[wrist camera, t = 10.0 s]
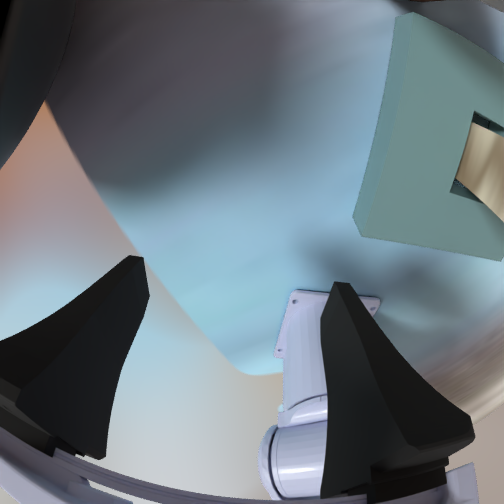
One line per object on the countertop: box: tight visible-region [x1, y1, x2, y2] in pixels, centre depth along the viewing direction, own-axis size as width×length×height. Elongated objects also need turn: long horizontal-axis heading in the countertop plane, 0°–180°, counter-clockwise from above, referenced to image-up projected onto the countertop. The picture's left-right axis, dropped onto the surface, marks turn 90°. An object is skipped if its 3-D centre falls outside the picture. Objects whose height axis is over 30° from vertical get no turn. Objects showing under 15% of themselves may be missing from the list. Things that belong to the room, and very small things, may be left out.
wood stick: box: [455, 122, 504, 222], centre depth 11 cm, size 4×2×9 cm, turn 174°
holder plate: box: [353, 12, 504, 262], centre depth 14 cm, size 14×14×2 cm
